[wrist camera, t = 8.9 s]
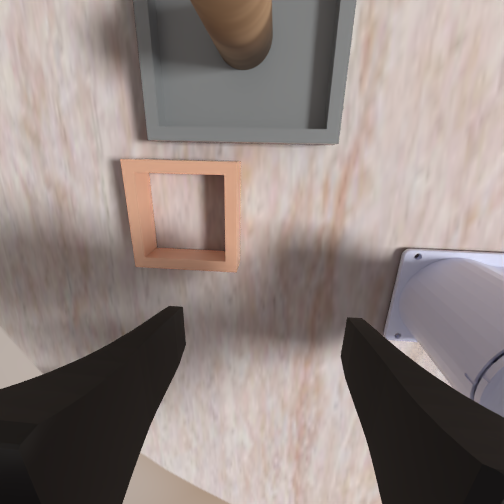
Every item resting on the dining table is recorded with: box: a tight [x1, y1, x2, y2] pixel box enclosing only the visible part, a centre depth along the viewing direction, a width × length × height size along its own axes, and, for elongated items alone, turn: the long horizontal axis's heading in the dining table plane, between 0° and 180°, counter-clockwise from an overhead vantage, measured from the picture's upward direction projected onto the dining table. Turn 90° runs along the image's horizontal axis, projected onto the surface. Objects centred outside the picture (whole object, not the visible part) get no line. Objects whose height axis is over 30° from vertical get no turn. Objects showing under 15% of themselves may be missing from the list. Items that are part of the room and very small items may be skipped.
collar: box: [120, 159, 241, 272], centre depth 19 cm, size 8×8×2 cm
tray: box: [133, 0, 356, 145], centre depth 15 cm, size 12×12×2 cm
